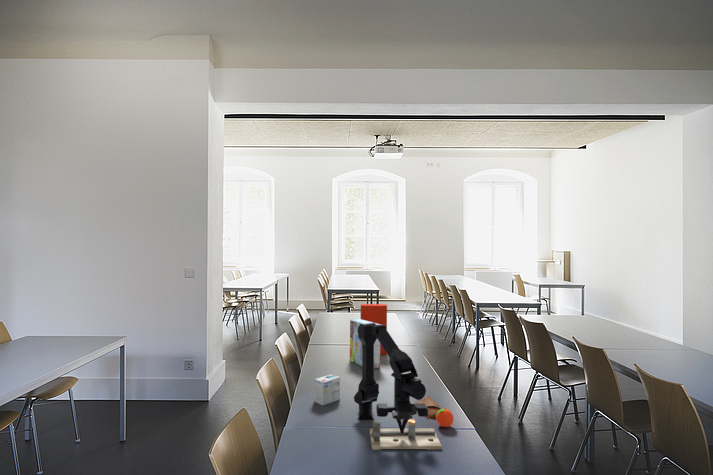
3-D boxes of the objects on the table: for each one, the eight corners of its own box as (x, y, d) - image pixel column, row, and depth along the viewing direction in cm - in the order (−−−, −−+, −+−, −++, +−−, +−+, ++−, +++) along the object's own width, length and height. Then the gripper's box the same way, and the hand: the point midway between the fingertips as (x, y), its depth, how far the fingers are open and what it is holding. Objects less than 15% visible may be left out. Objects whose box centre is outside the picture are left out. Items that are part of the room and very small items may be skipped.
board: (369, 431, 161) (369, 413, 161) (433, 431, 161) (433, 413, 161) (372, 449, 147) (372, 430, 147) (441, 449, 147) (441, 429, 147)
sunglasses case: (412, 402, 189) (419, 389, 190) (424, 409, 190) (431, 396, 191) (427, 419, 172) (434, 405, 172) (440, 427, 173) (448, 412, 174)
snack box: (381, 367, 241) (381, 324, 241) (369, 370, 236) (369, 325, 236) (360, 359, 259) (360, 318, 259) (348, 361, 254) (349, 319, 254)
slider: (407, 435, 155) (407, 419, 155) (414, 434, 155) (414, 419, 155) (409, 440, 151) (409, 424, 151) (416, 440, 151) (416, 424, 151)
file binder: (360, 351, 277) (360, 303, 277) (386, 351, 277) (386, 304, 277) (360, 354, 269) (360, 305, 269) (386, 355, 268) (387, 306, 269)
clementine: (440, 432, 161) (440, 413, 161) (430, 424, 167) (430, 407, 167) (457, 428, 164) (457, 410, 164) (446, 421, 170) (446, 404, 170)
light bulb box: (331, 395, 197) (331, 373, 197) (340, 399, 192) (340, 376, 193) (313, 401, 190) (313, 378, 190) (323, 406, 185) (323, 382, 185)
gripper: (378, 399, 145) (378, 443, 145) (431, 399, 145) (431, 443, 145) (376, 387, 156) (376, 429, 156) (425, 387, 157) (425, 429, 156)
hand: (401, 432), depth 153 cm, fingers closed
